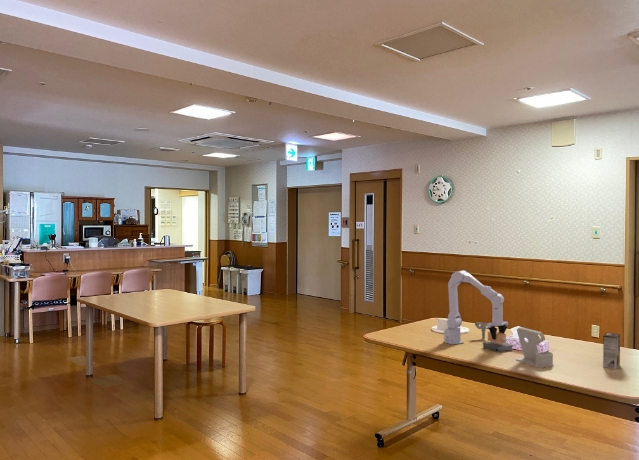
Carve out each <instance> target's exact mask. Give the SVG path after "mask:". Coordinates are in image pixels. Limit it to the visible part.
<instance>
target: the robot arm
mask: <svg viewBox="0 0 639 460" xmlns="http://www.w3.org/2000/svg"><path fill="white" fill-rule="evenodd" d="M461 283H469V284H471V285H472V286H473V287H475V288H476V289H478V290H479V291H480V294H481V295H482V296H484V297H485V298H487V299H488V300H490V303H491V304H492V307H491V308H492V309H491V312H492V313H491V314H492V315H491V316H492V317H491V320H492V322H488V323H486V324H487V326H486V328H488V329H487V330H488V332H490V333H491V336H492V339H494V340H496V332H500V333H504V334H506V333H505V332H506V330H507V328H508V326H509V322H508V321H504V317H503V316H504V307H503V306H504V305H503V303H504V301H505V297H504V296H503V294H501V293H498V292H497V291H495V290H494V289H492V286H488V285H484V284H482V283H481V282H480V281H479V280H478V279H477V278H475V277H474V276H473V275H471V273H469V272H467V271H466V270H457V271H455V272H453V273H452V274H451V277H450V279H449V281H448V282H447V284H448V285H447V286H448V289H447V291H448V305H449V307H448V308H449V309H448V310H449V313H448V315H447V319H448V320H447V326H448V329H445V331H444V334H443V338H444V339H443V343H445V344H449V345H458V344H464V343H465V342H464V341H461V339H462V338H461V337H462V336H461V335H462V334H461V327H460V326H462V323H463V320H462V317H461V314H460V313H461V312H459V296H458V295H459V293H458V286H459V285H460V284H461Z"/></svg>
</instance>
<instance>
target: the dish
mask: <svg viewBox="0 0 639 460" xmlns="http://www.w3.org/2000/svg"><path fill="white" fill-rule="evenodd" d="M447 320H448V318H441V317H440V318H436V325H433V326H432V327H431V331H433V332H434V333H438V334H443V335H444V331H445V329H448V326H447ZM460 327H461V335H464V334H468V333H470V328H469V327H466V326H462V325H460Z"/></svg>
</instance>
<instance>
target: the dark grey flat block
mask: <svg viewBox="0 0 639 460" xmlns="http://www.w3.org/2000/svg"><path fill="white" fill-rule="evenodd" d="M482 345H483V348H484V349H486V350H489V351H491V352H494V353H495V352H496V353H503V352H510V351H513V347H514V346H513V344H510V343H507V342H506V343H500V344H499V343H495V342H492V341H484V342H482Z"/></svg>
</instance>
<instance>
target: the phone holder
mask: <svg viewBox="0 0 639 460" xmlns="http://www.w3.org/2000/svg"><path fill="white" fill-rule="evenodd" d="M516 331H517V332H516V333H517V336H518V340H519V343H520V344H519V345H520V348H521V350H522V354H523V356H522V357H516V358H515V361H517V362H520V363H523V364H526V365H529V366H533V367H535V366H536V368H539V369H544V367H545V368H549V366H551V367H554V365H555V364H554V354H553V352H551V351H543V352H542V351H541V352H539V351H538V350H539V349H538V345H539V344H541V343H543V342H544V341H546V337H545V335H544V333H543V332H542V331H538V330H534V329H530V328H526V327H524V326H523V327H522V326H520V327H517V328H516ZM525 339H526V340H527V341H528V342H527V341H526V340H525Z"/></svg>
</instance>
